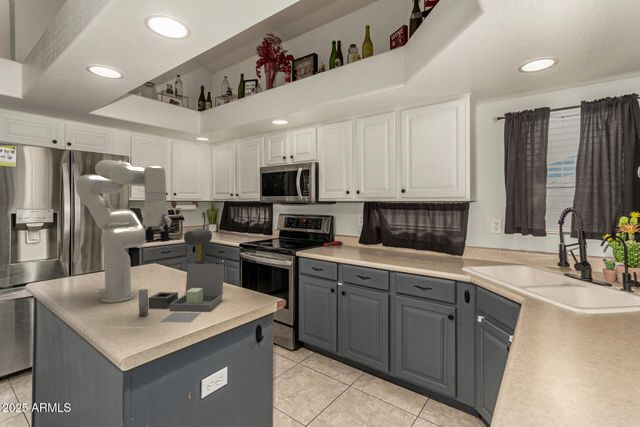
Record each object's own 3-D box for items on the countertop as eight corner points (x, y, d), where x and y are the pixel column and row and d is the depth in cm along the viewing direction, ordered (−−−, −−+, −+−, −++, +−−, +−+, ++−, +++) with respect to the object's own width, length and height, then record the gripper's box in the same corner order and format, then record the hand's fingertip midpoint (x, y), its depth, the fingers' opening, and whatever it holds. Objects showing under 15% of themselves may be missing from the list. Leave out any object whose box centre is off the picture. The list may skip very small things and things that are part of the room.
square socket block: (148, 309, 123) (148, 297, 123) (159, 302, 131) (159, 292, 131) (168, 309, 122) (167, 298, 122) (178, 302, 130) (178, 292, 130)
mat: (160, 323, 109) (160, 321, 109) (173, 313, 118) (173, 312, 118) (190, 323, 108) (190, 322, 108) (201, 314, 117) (201, 313, 117)
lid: (187, 263, 134) (188, 263, 135) (185, 294, 133) (186, 294, 133) (223, 264, 134) (224, 264, 135) (221, 294, 132) (222, 294, 133)
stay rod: (137, 318, 113) (136, 291, 113) (142, 315, 116) (141, 289, 116) (145, 318, 113) (144, 291, 113) (149, 315, 116) (149, 289, 116)
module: (186, 309, 122) (186, 291, 121) (192, 304, 127) (192, 288, 126) (197, 309, 121) (197, 291, 121) (202, 305, 126) (202, 288, 126)
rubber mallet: (195, 295, 141) (194, 230, 140) (182, 293, 144) (182, 229, 143) (213, 288, 153) (213, 228, 152) (201, 286, 155) (201, 227, 154)
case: (169, 311, 120) (169, 304, 120) (185, 301, 133) (185, 294, 133) (209, 312, 119) (209, 305, 119) (221, 301, 132) (221, 294, 132)
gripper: (133, 198, 122) (135, 241, 123) (160, 197, 114) (161, 242, 114) (151, 198, 129) (153, 239, 129) (178, 197, 120) (179, 240, 121)
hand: (157, 240), depth 122 cm, fingers open, 9 cm apart
